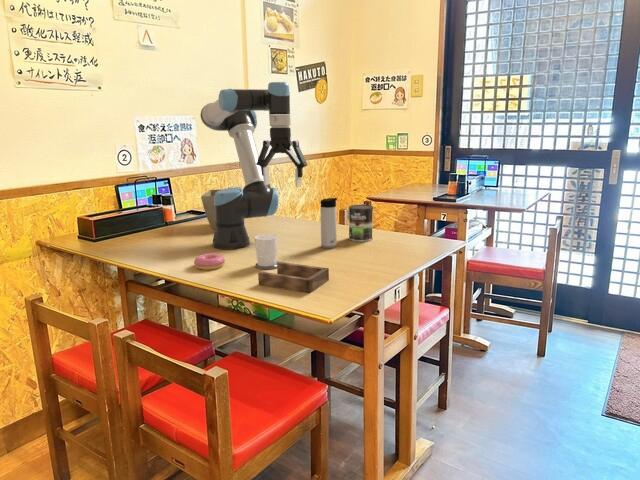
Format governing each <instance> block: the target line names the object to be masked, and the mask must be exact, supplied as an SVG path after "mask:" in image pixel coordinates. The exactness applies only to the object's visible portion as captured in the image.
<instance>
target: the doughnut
mask: <svg viewBox="0 0 640 480" xmlns="http://www.w3.org/2000/svg"><path fill="white" fill-rule="evenodd" d="M225 262H226V258H225V257H224V256H223V254H219V253H215V252H213V253H211V252H209V253H203V254H200V255H197V256H196V257H195V258H194V261H193V264H194V267H195V268H197V269H199V270H201V269H202V271H212V270H213V269H214V270H217V269H220V268H222V267H223V266H224V265H225Z"/></svg>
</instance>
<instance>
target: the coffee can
mask: <svg viewBox="0 0 640 480" xmlns="http://www.w3.org/2000/svg"><path fill="white" fill-rule="evenodd" d="M373 214H374V206H373V205H369V204H352V205H349V206H348V240H350V241H351V242H356V243H357V242H358V243H363V242H364V243H365V242H370V241H372V240H373V231H374V230H373V229H374V228H373V227H374V225H373V223H374V221H373V220H374V219H373V218H374V215H373Z"/></svg>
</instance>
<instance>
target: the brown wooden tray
mask: <svg viewBox="0 0 640 480" xmlns="http://www.w3.org/2000/svg"><path fill="white" fill-rule="evenodd" d="M329 268H330V267H329ZM329 268H328V267H321V266H314V265H305V264H300V263H299V264H298V263H291V262H284V261H278V263H277V268H276V269H277V273H274V272H267V271H258V272H257V276H258V285H259V286H265V287H270V288H276V289H283V290H289V291H295V292H296V291H297V292H301V293H308V294H312V293H313V292H314V291H316V290H317V289H318V288H319V287H321V286H323V285H324V284H325V283H327V282H328V281H329V280H330V277H329V276H330V270H329Z"/></svg>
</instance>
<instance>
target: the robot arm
mask: <svg viewBox="0 0 640 480" xmlns="http://www.w3.org/2000/svg"><path fill="white" fill-rule="evenodd" d="M290 98H291V93H290V86H289V83H288V82H286V81H273V82H272V81H271V82H269V83H268V85H267V89H258V88H257V89H243V88H241V89H234V88H233V89H232V88H228V89H221V90H220V91H219V93H218V99H217V100H216V101H214V102H209V103H207V104H205V105H204V106H203V107H202V109H201V111H200V114H199V115H200V120H201V122H202V123H203V124H204V126H205V127H207V128H208V129H210V130H212V131H217V132H218V131H220V132H222V131H223V132H228V136H229V137H231V138H232V139H233V143H234V145H235V148H236V154H237V156H238V157H237V158H238V161H239V164H240V165H239V166H240V169H241V172H242V177H243V180H244V184H245V185H244V186H243V188H242V187H240V186H239V187H238V186H236V187H228V188H221V189H222V190H219V191H217V192H216V193H215V195H214V206H215V220H216V229H214V230H215V231H214V234H213V239H212V247H214V248H216V249H218V250H219V249H220V250H236V249H241V248H245V247H248V246H249V245H250V237H249V235H248V232H247V229H246V226H245V219H251V218H252V219H253V218H262V217H265V218H266V217H268V216H274V215H275V214H276V213H277V210H278V207H279V192H278V190H277V188H276V187H272V186H271V184H270V168H269V166H268V165H269V163H270V162H271V160H272V159H273V158H274V156H275V155H276V154H286V155H287V157H288V158H289V159H290V160H291V161H292V163H293V164H294V166H295V168H294V173H295V174H294V176H295V177H294V178H295V179H294V181H295V188H298V187H301V186H302V182H301V181H302V178H303V175H304V174H303V168H306V167H307V166H308V163H307V161H306V158H305V155H304V154H303V152H302V150H301V147H300V142H299V140H297V139H296V140H293V141H292V139H291V138H292V133H291V131H292V129H291V127H290V126H291V106H290V105H291V104H290V102H291V99H290ZM257 111H264V112H268V117H269V126H270V128H269V138H270V140H269V139H268V140H267V139H266V140H265V139H264V140H263V141H262V148H261V151H260V154H259V153H258V149H257V145H256V141H255V138H254V133H255V129H256V128H257V125H258V119H257V114H256V112H257ZM270 146H271V148H270ZM291 147H292V148H291ZM269 148H270V149H269ZM292 149H293V150H294V151H293V150H292ZM268 151H269V152H268Z"/></svg>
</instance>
